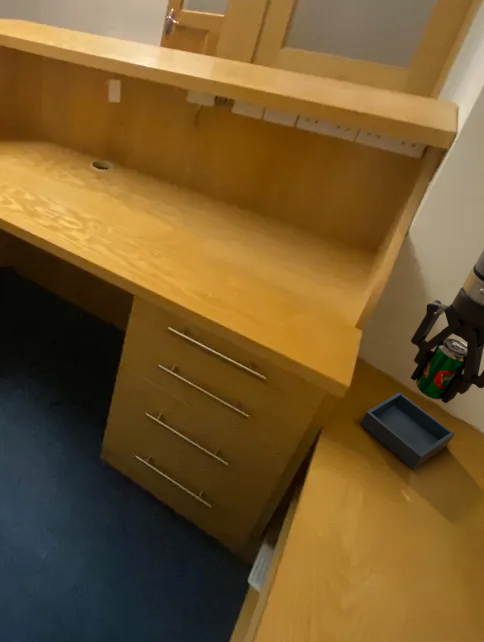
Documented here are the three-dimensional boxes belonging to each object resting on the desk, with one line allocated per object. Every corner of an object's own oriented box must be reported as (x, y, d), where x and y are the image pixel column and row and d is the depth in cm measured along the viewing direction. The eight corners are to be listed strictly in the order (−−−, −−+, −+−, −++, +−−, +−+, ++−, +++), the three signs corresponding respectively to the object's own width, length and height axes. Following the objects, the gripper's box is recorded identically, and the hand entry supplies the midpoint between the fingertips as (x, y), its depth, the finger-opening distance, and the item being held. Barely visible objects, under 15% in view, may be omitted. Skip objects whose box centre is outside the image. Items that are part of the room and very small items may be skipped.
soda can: (420, 375, 101) (446, 332, 95) (450, 392, 98) (478, 349, 92) (410, 388, 99) (435, 344, 93) (439, 406, 95) (468, 362, 89)
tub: (446, 446, 104) (455, 433, 102) (413, 469, 99) (421, 457, 97) (392, 403, 112) (399, 391, 110) (359, 423, 108) (366, 411, 106)
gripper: (420, 273, 92) (374, 361, 104) (541, 341, 78) (472, 434, 90) (444, 261, 94) (397, 349, 106) (565, 325, 81) (495, 417, 93)
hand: (431, 387), depth 98 cm, fingers closed on soda can, 5 cm apart
